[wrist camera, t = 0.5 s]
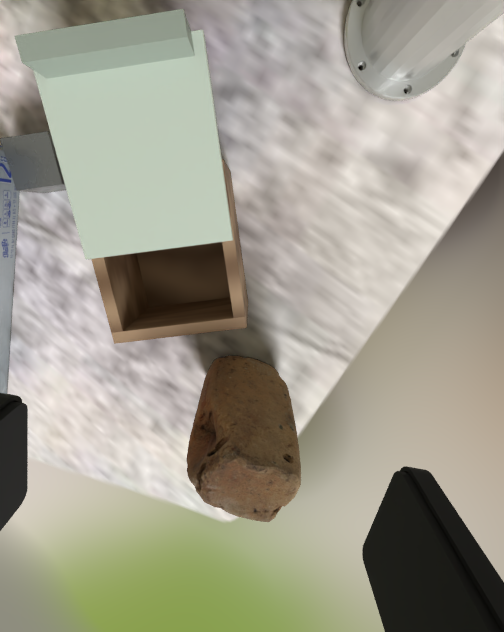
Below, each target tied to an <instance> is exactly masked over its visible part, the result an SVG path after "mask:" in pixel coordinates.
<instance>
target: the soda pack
mask: <svg viewBox="0 0 504 632" xmlns="http://www.w3.org/2000/svg"><path fill="white" fill-rule="evenodd" d="M19 192H20V191H16V188H15V185H14V181H13V178H12V175H11V172H10V169H9V166H8V163H7V160H6V156H5V153H4V150H3V147H2V145H0V393H5V394H7V386H8V372H9V354H10V340H11V323H12V305H13V293H14V274H15V257H16V240H17V225H18V210H19Z"/></svg>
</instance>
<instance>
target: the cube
mask: <svg viewBox="0 0 504 632" xmlns="http://www.w3.org/2000/svg"><path fill="white" fill-rule="evenodd" d="M0 141H1V144H2V147H3V150H4V153H5V156H6V160H7V163H8V166H9V169H10V172H11V175H12V178H13V181H14V185H15V188H16V191H25V192H36V193H49V192H56V191H64V190H66V186H65V183H64V179H63V176H62V172H61V168H60V165H59V161H58V158H57V154H56V150H55V147H54V143H53V139H52V136H51V133H50V132H41V133H34V134H27V135H20V136H14V137H7V138H0Z"/></svg>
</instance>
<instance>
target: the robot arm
mask: <svg viewBox="0 0 504 632" xmlns="http://www.w3.org/2000/svg"><path fill="white" fill-rule="evenodd" d="M357 4H359V5H360V7H359V6H358V5H357ZM503 13H504V0H352V2H351V4H350V7H349V10H348V14H347V18H346V22H345V31H344V46H345V52H346V57H347V61H348V64H349V66H350V69H351V71H352V73H353V75H354V76H355V78H356V79H357V81H358V82H359V83H360V84H361V85H362V86H363V87H364V88H365V89H366V90H367V91H368V92H370V93H371V94H373V95H374V96H377V97H379V98H382V99H385V100H392V101H402V100H409V99H412V98H415V97H418V96H420V95H422V94H424V93H426V92H428V91H429V90H431V89H432V88H433V87H435V86H436V85H438V84H439V83H440V82H441V81H442V80H443V79H444V78H445V77H446V76H447V75H448V74H449V73H450V71H451V70H452V69H453V67H454V66H455V65H456V63H457V61H458V60H459V58H460V56H461V54H462V52H463V49H464V47H465V44H466V42H468V41H469V40H470V39H471V38H473V37H474V36H475V35H477V34H478V33H479V32H480V31H482V30H483V29H484V28H485V27H487V26H488V25H489V24H490V23H492V22H493V21H494V20H496V19H497V18H498V17H499V16H501V15H502V14H503ZM451 54H452V56H451ZM358 67H361V68H362V71H360V70H359V69H358ZM404 90H406V94H405V93H404ZM26 492H27V405H26V404H24V403H22V399H21V398H20V397H19V396H16V395H10V394H5V393H0V531H1V529H2V528H3V527H4V526H5V524H6V523H7V522H8V521H9V519H10V518H11V517H12V516H13V514H14V513H15V512H16V510H17V509H18V508H19V506H20V505H21V504H22V502H23V500H24V498H25V496H26ZM363 561H364V564H365V568H366V571H367V574H368V578H369V581H370V584H371V587H372V591H373V594H374V597H375V600H376V604H377V607H378V610H379V613H380V616H381V620H382V623H383V626H384V629H385V632H504V582H503V581H502V579H501V578H500V576H499V575H498V573H497V572H496V570H495V569H494V567H493V566H492V564H491V563H490V561H489V560H488V558H487V557H486V555H485V554H484V552H483V551H482V549H481V548H480V546H479V545H478V543H477V542H476V540H475V539H474V537H473V536H472V534H471V533H470V531H469V530H468V528H467V527H466V525H465V524H464V522H463V521H462V519H461V518H460V517H459V515H458V513H457V512H456V510H455V509H454V507H453V506H452V504H451V503H450V502H449V500H448V498H447V497H446V495H445V494H444V492H443V491H442V489H441V488H440V486H439V485H438V483H437V482H436V480H435V479H434V477H433V476H432V474H431V473H430V472H429V471H427V470H423V469H417V468H412V467H403V468H401V470H400V471H397V472H395V473H394V475H393V477H392V479H391V482H390V484H389V486H388V489H387V491H386V494H385V496H384V498H383V501H382V503H381V505H380V507H379V510H378V512H377V514H376V517H375V519H374V521H373V524H372V526H371V529H370V531H369V533H368V536H367V538H366V540H365V543H364V545H363Z"/></svg>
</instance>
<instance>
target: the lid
mask: <svg viewBox="0 0 504 632" xmlns="http://www.w3.org/2000/svg"><path fill="white" fill-rule="evenodd" d="M15 39H16V43H17V46H18V50H19V53H20V57H21V61H22V63H23V64H25V65H26V66H28V67H30V68H31V69H33V71H34V74H35V78H36V82H37V85H38V89H39V93H40V96H41V100H42V103H43V107H44V111H45V114H46V118H47V121H48V125H49V129H50V132H51V136H52V139H53V143H54V147H55V150H56V154H57V158H58V161H59V165H60V168H61V172H62V176H63V179H64V183H65V186H66V190H67V194H68V197H69V201H70V205H71V208H72V212H73V215H74V219H75V223H76V226H77V230H78V233H79V237H80V241H81V244H82V248H83V251H84V255H85V259H86V260H87V259H94V258H102V257H110V256H117V255H125V254H133V253H140V252H148V251H156V250H163V249H171V248H179V247H186V246H194V245H202V244H209V243H217V242H225V241H232V240H233V235H232V228H231V221H230V214H229V206H228V199H227V192H226V185H225V178H224V171H223V164H222V157H221V150H220V143H219V136H218V129H217V122H216V114H215V107H214V100H213V93H212V86H211V79H210V72H209V65H208V58H207V51H206V44H205V37H204V33H203V30H197V31H191V30H190V27H189V24H188V21H187V18H186V15H185V12H184V9H179V10H173V11H166V12H160V13H154V14H148V15H141V16H135V17H129V18H123V19H116V20H110V21H104V22H98V23H92V24H85V25H79V26H73V27H67V28H60V29H54V30H48V31H42V32H35V33H29V34H23V35H17V36H15Z"/></svg>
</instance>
